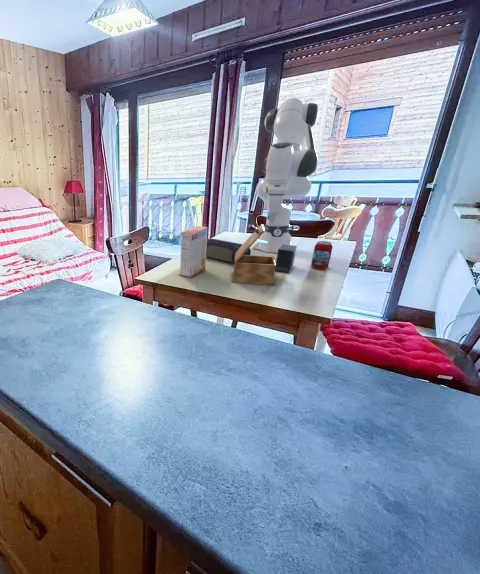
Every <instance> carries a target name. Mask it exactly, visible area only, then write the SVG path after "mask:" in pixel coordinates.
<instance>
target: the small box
mask: <svg viewBox="0 0 480 574" xmlns="http://www.w3.org/2000/svg"><path fill="white" fill-rule="evenodd" d="M296 252H297V245H291V244H290V245H286V244H282V245H281V247H280V248H279V249H278V253H276V254H277V255H276V258H275V259H276V260H275V263H276V270H275V272H282V273H290V271H291V270H292V268H293V266H294V264H295V263H294V262H295V257H296V254H297V253H296Z"/></svg>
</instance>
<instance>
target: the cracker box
mask: <svg viewBox="0 0 480 574" xmlns="http://www.w3.org/2000/svg"><path fill="white" fill-rule="evenodd" d="M180 234H181V237H180V266H179V267H180V271H179V272H180V276H183V277H188V278H192V277H194V276H196V275H198V274H199V273H202V272H203V271H205V270H206V261H207V260H206V259H207V256H206V245H207V239H208V226H199V225H198V226H195V227H192V228H189V229H186V230H184V231H182V232H181V233H180Z"/></svg>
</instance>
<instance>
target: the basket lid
mask: <svg viewBox="0 0 480 574" xmlns="http://www.w3.org/2000/svg"><path fill="white" fill-rule="evenodd" d="M264 227H265V225H264V224H262V223H261V224H260V225H259V226H258V227H256V226H254V224H253V222H252V223H249V224H248V230H249V231H253V233H252V234H251V235H250V236H249V237H248V238H247V239H246V240H245V241H244V243H242V244H243V245H242V246H241V247H240V248H239V249H238V250H237V251H236V253H235V262H237V261H238V260H239V259H240V257H241V256H242V255H243V254H244V253H245V252H246V251H247V250H248V249H249V248H250V249H251V247H252V246H253V245H254V244H255V243H256V242H257V240H259V237H260V236H261V235H262V234H263V233H264V232H265V230H264Z"/></svg>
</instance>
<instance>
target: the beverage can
mask: <svg viewBox="0 0 480 574" xmlns="http://www.w3.org/2000/svg"><path fill="white" fill-rule="evenodd" d="M332 251H333V244H332V242H330V241H326V240H325V241H324V240H321V241H317V242H316V244H315V245H314V247H313V252H312V258H311V264H310V266H311V267H312V268H313V269H316V270H325V269H328V268H329V265H330V260H331V257H332V253H333V252H332Z"/></svg>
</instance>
